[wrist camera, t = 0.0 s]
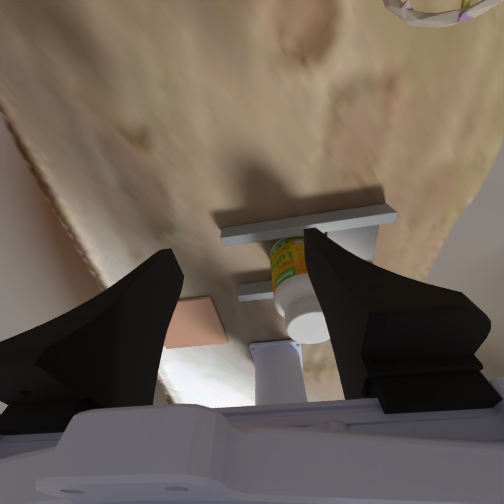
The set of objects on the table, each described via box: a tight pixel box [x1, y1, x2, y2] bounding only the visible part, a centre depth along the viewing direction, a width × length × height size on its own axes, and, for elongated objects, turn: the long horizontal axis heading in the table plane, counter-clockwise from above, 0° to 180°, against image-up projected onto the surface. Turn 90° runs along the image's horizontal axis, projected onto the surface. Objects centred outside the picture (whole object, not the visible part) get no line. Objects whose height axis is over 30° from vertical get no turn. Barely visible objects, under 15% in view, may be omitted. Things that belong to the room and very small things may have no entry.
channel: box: [220, 203, 397, 302], centre depth 23 cm, size 9×16×2 cm, turn 100°
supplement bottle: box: [270, 235, 330, 344], centre depth 20 cm, size 5×5×10 cm
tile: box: [164, 296, 228, 349], centre depth 31 cm, size 10×10×1 cm
